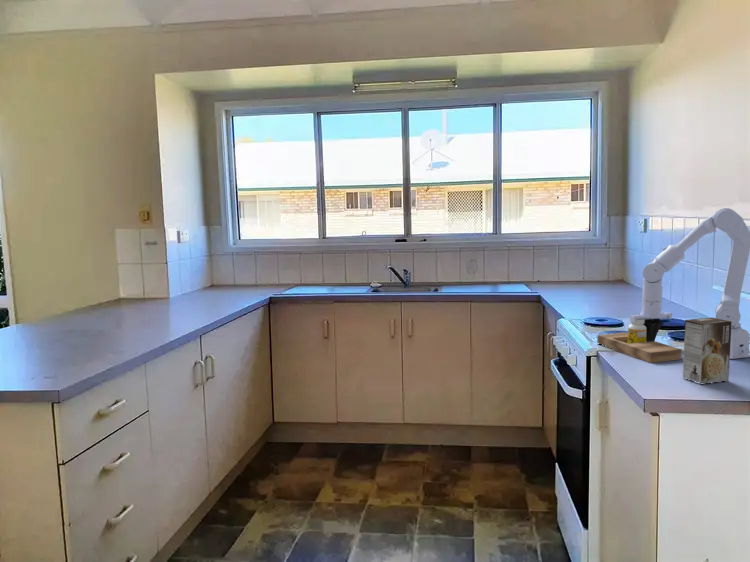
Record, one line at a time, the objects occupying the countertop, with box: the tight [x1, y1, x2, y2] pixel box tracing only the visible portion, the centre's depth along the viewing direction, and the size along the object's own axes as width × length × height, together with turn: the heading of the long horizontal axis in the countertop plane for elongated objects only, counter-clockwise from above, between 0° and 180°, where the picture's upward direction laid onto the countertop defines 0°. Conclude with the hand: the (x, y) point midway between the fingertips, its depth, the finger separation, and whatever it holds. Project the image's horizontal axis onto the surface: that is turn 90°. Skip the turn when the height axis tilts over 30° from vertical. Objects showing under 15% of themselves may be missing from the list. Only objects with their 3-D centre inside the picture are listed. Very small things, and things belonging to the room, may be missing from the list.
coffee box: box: [682, 317, 732, 384], centre depth 154 cm, size 9×6×16 cm
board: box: [596, 331, 682, 364], centre depth 185 cm, size 24×11×3 cm, turn 17°
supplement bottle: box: [627, 319, 647, 344], centre depth 188 cm, size 5×5×10 cm
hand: (650, 342), depth 190 cm, fingers closed
